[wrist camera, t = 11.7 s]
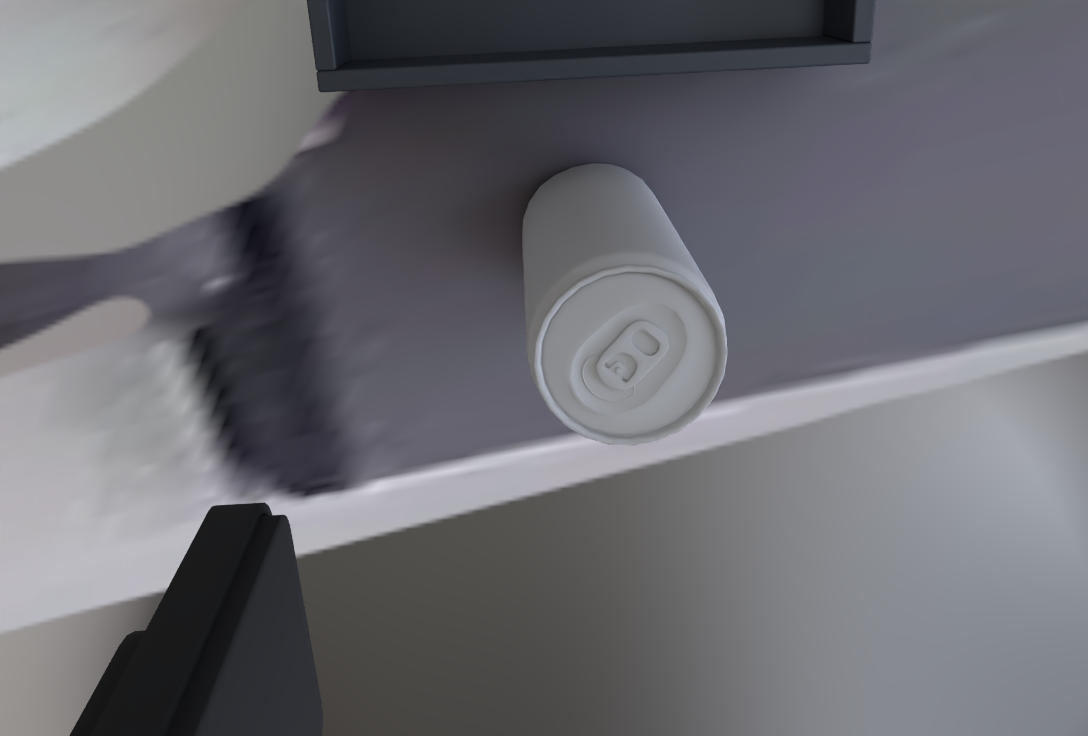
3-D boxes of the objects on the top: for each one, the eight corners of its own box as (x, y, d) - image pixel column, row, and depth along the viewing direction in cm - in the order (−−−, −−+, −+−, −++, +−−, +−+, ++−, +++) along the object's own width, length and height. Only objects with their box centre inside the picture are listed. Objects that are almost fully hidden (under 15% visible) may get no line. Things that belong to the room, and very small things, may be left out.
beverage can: (493, 234, 34) (484, 369, 23) (587, 127, 32) (626, 216, 21) (595, 320, 35) (634, 487, 24) (689, 221, 34) (776, 349, 23)
